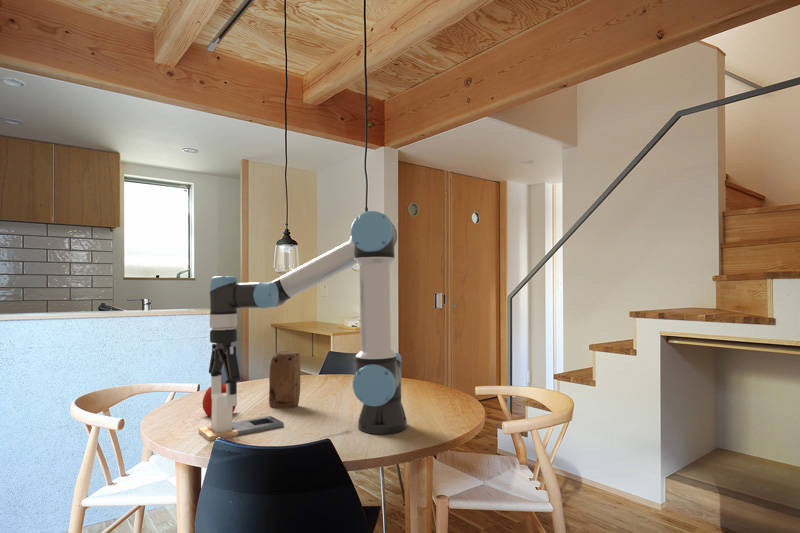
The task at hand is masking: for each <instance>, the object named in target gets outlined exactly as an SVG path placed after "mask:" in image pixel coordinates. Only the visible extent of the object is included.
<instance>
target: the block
mask: <svg viewBox="0 0 800 533" xmlns="http://www.w3.org/2000/svg"><path fill="white" fill-rule="evenodd" d="M268 373H269V379H268V382H269V384H268V385H269V389H268V390H269V391H268V394H269V395H268V404H269V408H281V409H284V408H285V409H288V408H290V409H292V408H296V407H299V403H300V395H301V356H300V352H299V351H290V350H283V351H282V350H281V351H277V352H276V353H275V354H274V355H272V358H271V361H270V365H269V372H268Z"/></svg>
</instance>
